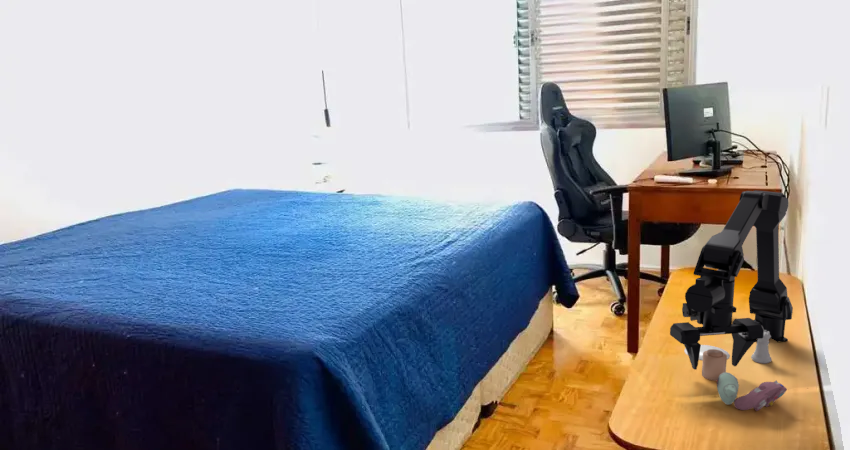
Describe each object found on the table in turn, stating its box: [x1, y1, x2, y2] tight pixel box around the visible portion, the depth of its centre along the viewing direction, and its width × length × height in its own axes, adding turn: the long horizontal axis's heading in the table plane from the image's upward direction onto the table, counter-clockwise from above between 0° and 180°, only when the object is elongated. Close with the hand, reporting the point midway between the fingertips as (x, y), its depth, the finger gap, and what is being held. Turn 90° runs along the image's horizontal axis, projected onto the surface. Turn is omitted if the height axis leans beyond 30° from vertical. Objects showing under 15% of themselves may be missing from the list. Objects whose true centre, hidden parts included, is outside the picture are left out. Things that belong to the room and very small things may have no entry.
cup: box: [701, 349, 728, 382], centre depth 148 cm, size 5×5×7 cm
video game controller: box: [733, 380, 788, 412], centre depth 135 cm, size 10×5×7 cm, turn 120°
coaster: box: [684, 344, 731, 362], centre depth 160 cm, size 10×10×1 cm
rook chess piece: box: [750, 330, 772, 364], centre depth 155 cm, size 4×4×8 cm
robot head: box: [716, 371, 740, 405], centre depth 137 cm, size 8×4×7 cm, turn 157°
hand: (714, 367), depth 147 cm, fingers open, 9 cm apart
